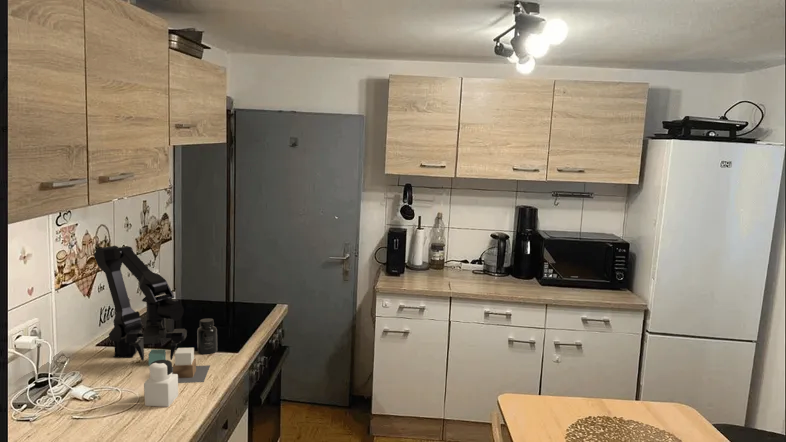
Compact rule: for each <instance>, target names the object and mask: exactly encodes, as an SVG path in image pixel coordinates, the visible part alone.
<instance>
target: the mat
mask: <svg viewBox="0 0 786 442" xmlns="http://www.w3.org/2000/svg"><path fill="white" fill-rule="evenodd" d="M210 367H211V365H196V372H195V374H194V376H193V377H192V378H178V384H186V383H187V384H188V383H189V384H191V383H194V384H195V383H204V382H205V380H206V377H207V375H208V372H209V370H210ZM172 374H173V366H172Z"/></svg>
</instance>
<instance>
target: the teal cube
mask: <svg viewBox="0 0 786 442" xmlns="http://www.w3.org/2000/svg"><path fill="white" fill-rule="evenodd" d="M166 357H167V354H166V349H165V348H161V349H160V348H159V349H157V348H156V349H154V348H153V349H150V351H149V353H148V367H150V364H151V363H152V362H154V361H157V360H167V359H166Z"/></svg>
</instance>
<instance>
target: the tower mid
mask: <svg viewBox="0 0 786 442" xmlns="http://www.w3.org/2000/svg"><path fill="white" fill-rule="evenodd" d="M194 359H195V347H178V348H176V349H175V352H174V364H175V366H177V365H192V362H193V360H194Z"/></svg>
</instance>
